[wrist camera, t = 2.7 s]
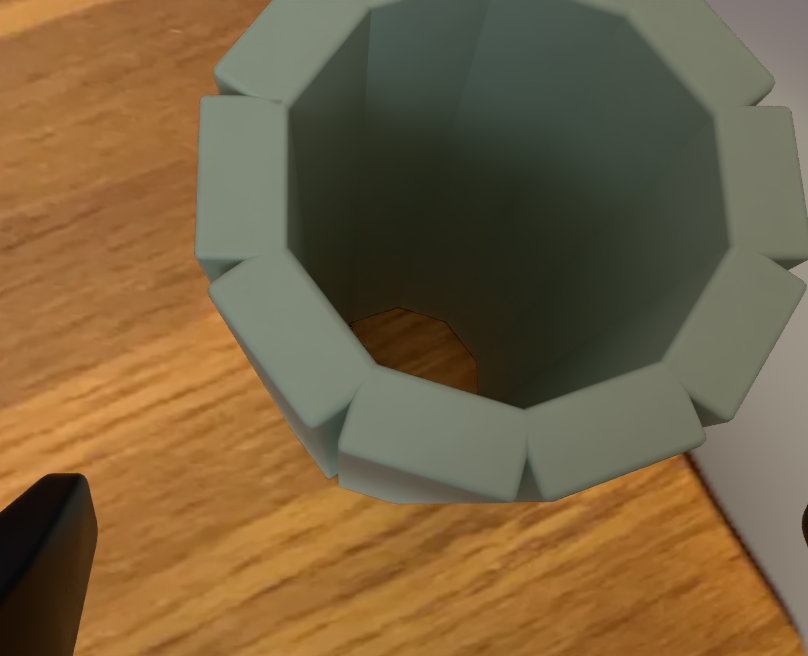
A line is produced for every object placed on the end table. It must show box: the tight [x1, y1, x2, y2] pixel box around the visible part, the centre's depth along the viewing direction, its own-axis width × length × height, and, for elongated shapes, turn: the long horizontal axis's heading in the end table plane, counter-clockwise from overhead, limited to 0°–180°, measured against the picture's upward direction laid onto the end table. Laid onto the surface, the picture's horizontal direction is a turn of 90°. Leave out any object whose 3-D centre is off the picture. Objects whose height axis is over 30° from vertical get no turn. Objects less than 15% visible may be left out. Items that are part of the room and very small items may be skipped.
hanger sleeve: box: [194, 0, 808, 504], centre depth 13 cm, size 6×6×13 cm
